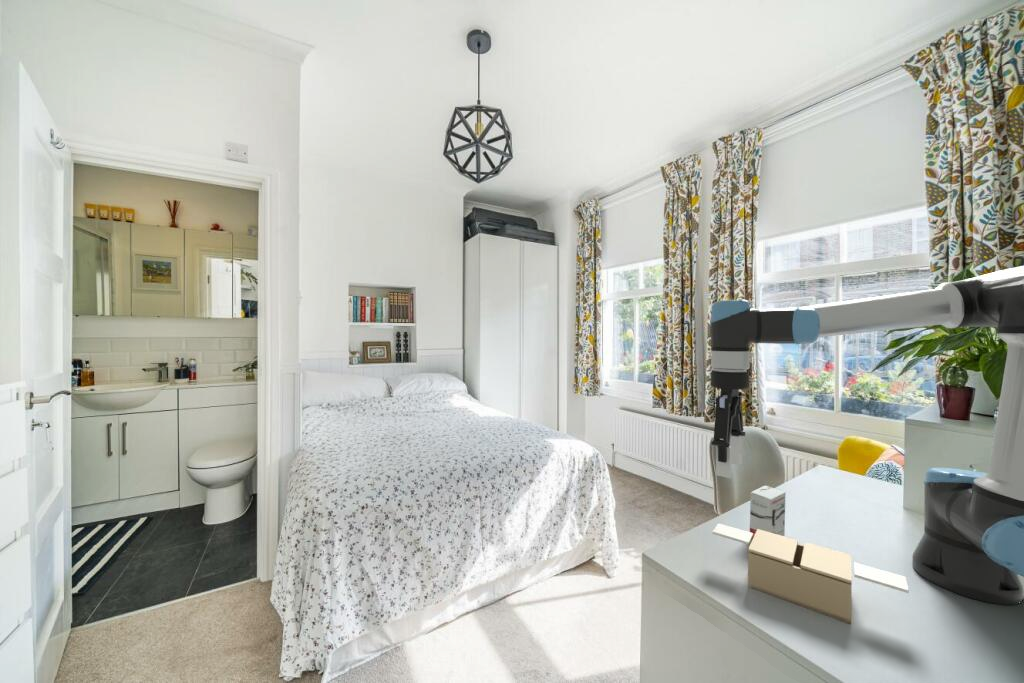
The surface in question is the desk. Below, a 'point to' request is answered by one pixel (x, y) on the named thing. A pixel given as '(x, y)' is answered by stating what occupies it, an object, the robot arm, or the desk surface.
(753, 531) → the ink box
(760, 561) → the carton
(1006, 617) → the desk surface
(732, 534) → the far flap
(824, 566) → the near flap
